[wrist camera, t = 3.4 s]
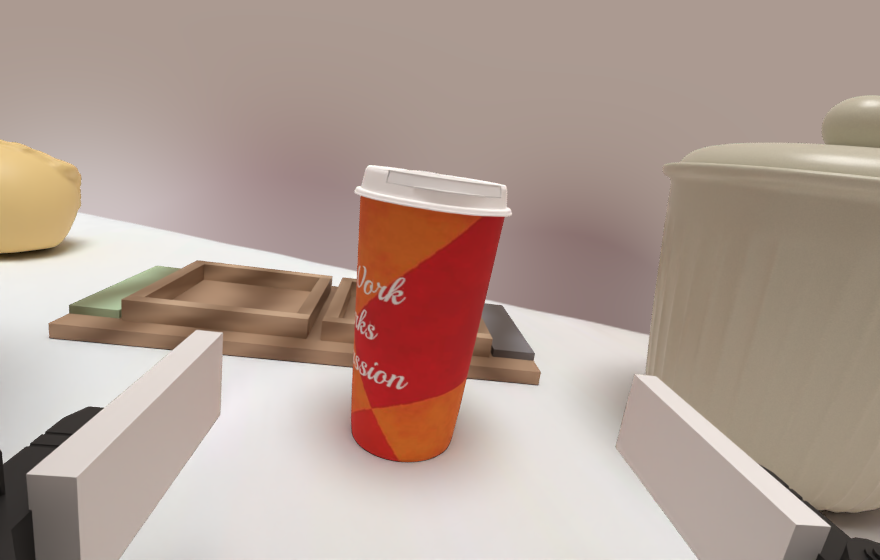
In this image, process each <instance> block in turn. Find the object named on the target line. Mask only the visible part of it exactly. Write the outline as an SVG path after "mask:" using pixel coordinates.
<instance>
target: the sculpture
mask: <svg viewBox="0 0 880 560" xmlns="http://www.w3.org/2000/svg"><path fill="white" fill-rule="evenodd" d="M80 186H81V175H80V173H79V172H78V169H77V168H76V167H75V166H74V165H72V164H70V163H68V162H65V161H62V160H59V159H56V158H53V157H51V156H49V155H48V154H46V153H43V152H41V151H38V150H34V149H32V148H30V147H27V146H25V145H22V144H20V143H16V142H6V141H4V140H0V253H12V252H23V251H31V250H39V249H46V248H52V247H55V246H57V245H59V244H60V243H61V242H62V241H63V240H64V239H65V237H66V236H67V234H68V233H69V231H70V229H71V227H72V224H73V222H74V220H75V217H76V215H77V211H78V209H79V208H80V206H81V200H80V199H81V194H80V192H81V190H80Z"/></svg>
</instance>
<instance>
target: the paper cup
mask: <svg viewBox="0 0 880 560" xmlns="http://www.w3.org/2000/svg"><path fill="white" fill-rule="evenodd" d="M354 192H355V193H356V194H358V195H360V196H361V200H360V221H359V244H358V266H357V286H356V307H355V330H354V353H353V378H352V409H351V427H352V434H353V437H354V439H355V440H356V442H357V443H358V444H359V445H360V446H361V447H362V448H363V449H365V450H366V451H368V452H370V453H371V454H373V455H376V456H378V457H381V458H384V459H388V460H393V461H399V462H417V461H423V460H428V459H431V458H434V457H436V456H438V455H440V454H441V453H442V452H444V451H445V450H446V449H447V447H448V446H449V443H450V441H451V438H452V435H453V431H454V428H455V424H456V420H457V416H458V412H459V408H460V404H461V400H462V396H463V392H464V388H465V384H466V379H467V375H468V371H469V367H470V363H471V358H472V354H473V350H474V346H475V341H476V337H477V333H478V329H479V324H480V320H481V316H482V311H483V307H484V303H485V299H486V294H487V290H488V286H489V281H490V277H491V273H492V268H493V264H494V260H495V256H496V251H497V247H498V243H499V239H500V234H501V230H502V226H503V222H504V217H506V216H511V215H512V213H511V209H509V208H508V207H507V188H506V186H505V185H502V184H497V183H492V182H487V181H481V180H475V179H469V178H463V177H456V176H450V175H441V174H437V173H432V172H426V171H419V170H417V171H413V170H409V171H408V170H407V169H399V168H391V167H384V166H374V165H368V167H367V168H366V170H365V174H364V178H363V182H362V186H358V187H357V188H356V190H355V191H354Z"/></svg>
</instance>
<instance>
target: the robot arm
mask: <svg viewBox="0 0 880 560" xmlns="http://www.w3.org/2000/svg"><path fill="white" fill-rule="evenodd" d="M222 350H223V333H222V332H212V331H202V330H196V331H195V332H193V333H192V334H191V335H190V336H189V337H187V338H186V339H185V340H184V341H183V342H182V343H180V344H179V345H178V346H177V347H176V348H174V349H173V350H172V351H171V352H170V353H169V354H167V355H166V356H165V357H164V358H163V359H161V360H160V361H159V362H158V363H157V364H156V365H154V366H153V367H152V368H151V369H150V370H149V371H147V372H146V373H145V374H144V375H143V376H141V377H140V378H139V379H138V380H137V381H136V382H134V383H133V384H132V385H131V386H130V387H128V388H127V389H126V390H125V391H124V392H123V393H121V394H120V395H119V396H118V397H117V398H115V399H114V400H113V401H112V402H111V403H110V404H108V405H107V406H106V407H105V408H100V407H86V408H84V409H82V410H80V411H77V412H75V413H73V414H71V415H68V416H66V417H64V418H62V419H61V420H60V421H59V422H57V423H56V424H55V425H53V426H52V427H51V428H50V429H48V430H47V431H46V432H45V434H44V435H43V434H42V435H41V436H39V437H38V438H37V439H35V440H34V441H33V442H31V443H30V446H29V447H27V446H26V447H25V448H24V449H22V450H21V451H20V452H19V453H17V454H16V455H15V456H13V457H12V458H11V459H9V460H8V461H7V462H6V463H4V464H3V460H2V452H1V450H0V560H119V559H120V557H121V556H122V554H123V553H124V551H125V550H126V549H127V547H128V546H129V544H130V543H131V541H132V540H133V539H134V537H135V536H136V534H137V533H138V531H139V530H140V529H141V527H142V526H143V524H144V523H145V521H146V520H147V519H148V517H149V516H150V514H151V513H152V511H153V510H154V509H155V507H156V506H157V504H158V503H159V501H160V500H161V499H162V497H163V496H164V494H165V493H166V491H167V490H168V489H169V487H170V486H171V484H172V483H173V481H174V480H175V479H176V477H177V476H178V474H179V473H180V471H181V470H182V469H183V467H184V466H185V464H186V463H187V461H188V460H189V459H190V457H191V456H192V454H193V453H194V451H195V450H196V449H197V447H198V446H199V444H200V443H201V441H202V440H203V439H204V437H205V436H206V434H207V433H208V432H209V430H210V429H211V427H212V426H213V424H214V423H215V422H216V420H217V419H218V417H219V416H220V409H221V380H222ZM615 447H616V449H617V450H618V451H619V453H620V454H621V455H622V457H623V458H624V459H625V461H626V462H627V463H628V465H629V466H630V468H631V469H632V470H633V472H634V473H635V474H636V476H637V477H638V478H639V480H640V481H641V482H642V484H643V485H644V486H645V488H646V489H647V491H648V492H649V493H650V495H651V496H652V497H653V499H654V500H655V501H656V503H657V504H658V505H659V507H660V508H661V509H662V511H663V512H664V514H665V515H666V516H667V518H668V519H669V520H670V522H671V523H672V524H673V526H674V527H675V528H676V530H677V531H678V532H679V534H680V535H681V537H682V538H683V539H684V541H685V542H686V543H687V545H688V546H689V547H690V549H691V550H692V551H693V553H694V554H695V555H696V557H697V558H698V559H699V560H880V543H877V542H874V541H871V540H868V539H862V538H852V539H851V538H850V537H849V536H847V535H846V534H845V533H844V532H843V531H842V530H840V529H839V528H838V527H837V526H836V525H834V524H833V523H832V522H831V521H830V520H829V519H827V518H826V517H825V516H824V515H823V514H822V513H820V512H819V511H818V510H817V509H816V508H814V507H813V506H812V505H811V504H810V503H809V502H807V501H804V500H803V497H801V496H800V495H799V494H798V493H797V492H796V491H794V490H793V489H790V488H789V486H788V485H787V484H786V483H785V482H784V481H783V480H781V479H780V478H779V477H778V476H777V475H776V474H774V473H773V472H772V471H770V470H768V469H767V468H765V467H763V466H762V465H760V464H758V463H757V462H755V461H754V460H753V459H752V458H751V457H749V456H748V455H747V454H746V453H745V452H744V451H742V450H741V449H740V448H739V447H738V446H737V445H735V444H734V443H733V442H732V441H731V440H730V439H729V438H727V437H726V436H725V435H724V434H723V433H722V432H720V431H719V430H718V429H717V428H716V427H715V426H713V425H712V424H711V423H710V422H709V421H708V420H706V419H705V418H704V417H703V416H702V415H701V414H699V413H698V412H697V411H696V410H695V409H694V408H692V407H691V406H690V405H689V404H688V403H687V402H685V401H684V400H683V399H682V398H681V397H680V396H678V395H677V394H676V393H675V392H674V391H673V390H671V389H670V388H669V387H668V386H667V385H666V384H665V383H663V382H662V381H661V380H660V379H659V378H658V377H656V376H649V375H639V374H634V378H633V382H632V385H631V389H630V393H629V397H628V401H627V404H626V408H625V412H624V416H623V420H622V423H621V427H620V431H619V435H618V439H617V442H616V446H615Z"/></svg>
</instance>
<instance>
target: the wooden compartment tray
mask: <svg viewBox="0 0 880 560" xmlns="http://www.w3.org/2000/svg"><path fill="white" fill-rule="evenodd" d="M356 286H357V279H351V278H342V280H341V282H340V285H339V287H335V286H332V276H326V275H317V274H309V273H300V272H292V271H283V270H275V269H266V268H258V267H249V266H241V265H232V264H224V263H215V262H206V261H198V260H197V261H195V262H193V263H191V264H189V265H187V266H185V267H184V268H182V269H180V268H171V267H163V266H155V267H153V268H151V269H148V270H146V271H144V272H142V273H139V274H137V275H135V276H133V277H131V278H128V279H126V280H124V281H122V282H119V283H117V284H115V285H113V286H110V287H108V288H106V289H104V290H102V291H99V292H97V293H95V294H93V295H90V296H88V297H86V298H84V299H82V300H79V301H77V302H75V303H73V304H70V305H69V314H67V315H65V316H63V317H61V318H59V319H57V320H55V321H52V322H50V323H49V338H57V339H67V340H78V341H88V342H99V343H109V344H119V345H130V346H140V347H150V348H161V349H171V350H173V349H174V348H176V347H177V346H178V345H179V344H180V343H182V342H183V341H184V340H185V339H186V338H187V337H189V336H190V335H191V334H192V333H193V332H195V331H196V330H202V331H212V332H222V333H223V350H222V354H223V355H234V356H244V357H254V358H265V359H275V360H286V361H296V362H306V363H317V364H327V365H338V366H348V367H353V353H354V330H355V307H356ZM534 355H535V353H534V352H533V350H532V349H531V347H530V346H529V344H528V343H527V341H526V340H525V338H524V337H523V335H522V334H521V332H520V331H519V330H518V328H517V327H516V325H515V324H514V322H513V321H512V319H511V318H510V316H509V315H508V313H507V312H506V310H505V309H504V307H503V306H502V305H493V304H485V303H484V307H483V311H482V316H481V320H480V324H479V329H478V333H477V337H476V341H475V346H474V350H473V354H472V358H471V363H470V367H469V371H468V375H467V378H473V379H483V380H493V381H504V382H514V383H525V384H535V385H538V383H539V379H540V374H541V372H540V370H539V369H538V367H537V366H536V364H535V363H534V361H533V360H534Z"/></svg>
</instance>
